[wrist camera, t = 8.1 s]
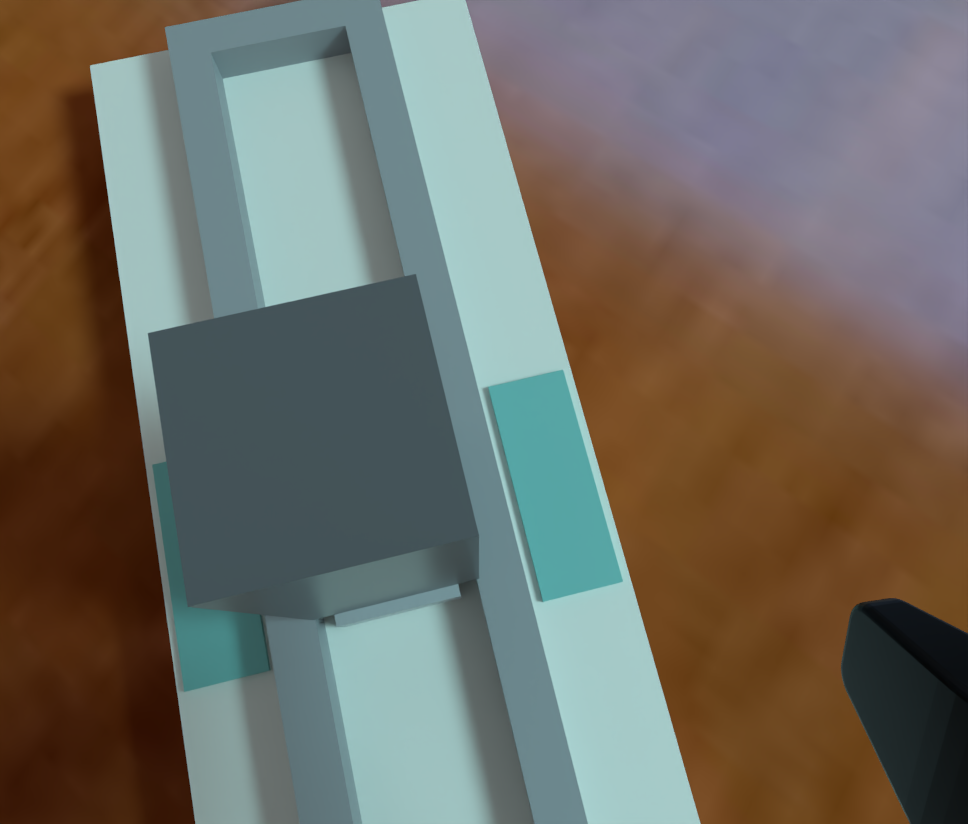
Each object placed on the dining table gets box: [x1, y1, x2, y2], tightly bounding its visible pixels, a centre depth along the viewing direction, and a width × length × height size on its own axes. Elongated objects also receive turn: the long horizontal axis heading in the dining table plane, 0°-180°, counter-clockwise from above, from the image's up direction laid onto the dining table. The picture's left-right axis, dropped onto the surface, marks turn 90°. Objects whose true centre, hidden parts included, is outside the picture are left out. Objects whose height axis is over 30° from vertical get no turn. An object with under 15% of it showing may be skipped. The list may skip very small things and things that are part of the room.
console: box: [90, 0, 700, 824], centre depth 19 cm, size 28×10×2 cm, turn 14°
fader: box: [148, 274, 479, 628], centre depth 14 cm, size 4×4×8 cm
